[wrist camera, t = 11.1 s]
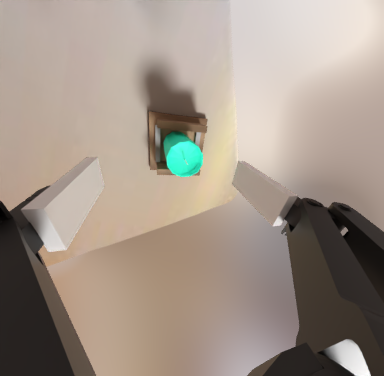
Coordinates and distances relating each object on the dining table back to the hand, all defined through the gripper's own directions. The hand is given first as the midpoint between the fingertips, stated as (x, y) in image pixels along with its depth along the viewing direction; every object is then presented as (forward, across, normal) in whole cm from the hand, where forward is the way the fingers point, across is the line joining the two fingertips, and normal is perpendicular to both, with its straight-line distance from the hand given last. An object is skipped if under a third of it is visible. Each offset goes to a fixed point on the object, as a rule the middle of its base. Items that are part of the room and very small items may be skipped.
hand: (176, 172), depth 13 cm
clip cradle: (+20, +3, -2) cm, 20 cm away
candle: (+19, +3, -2) cm, 19 cm away
